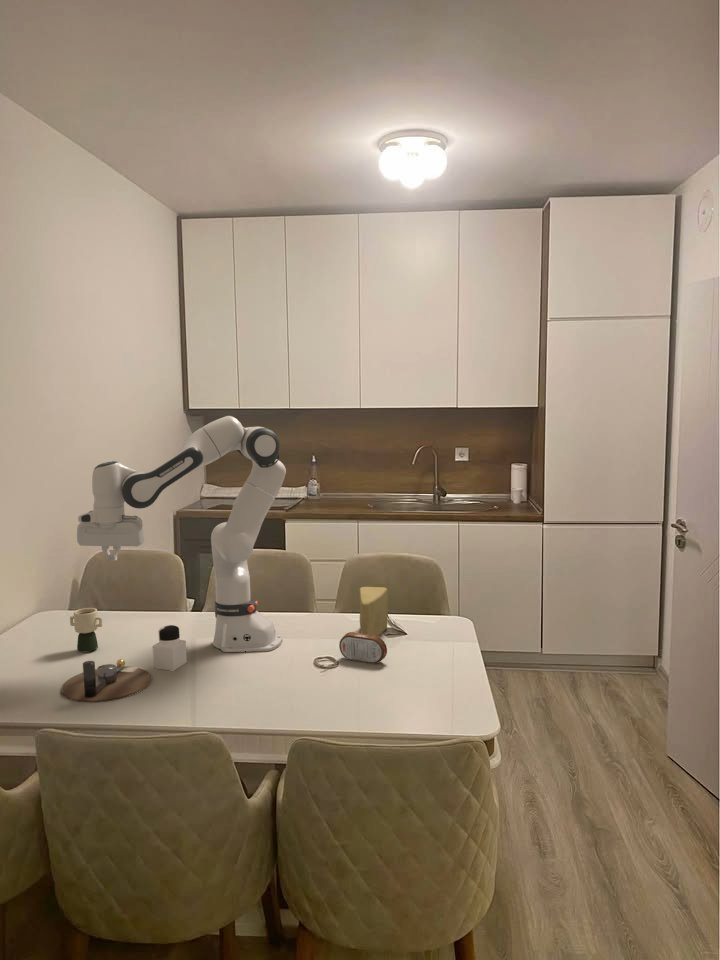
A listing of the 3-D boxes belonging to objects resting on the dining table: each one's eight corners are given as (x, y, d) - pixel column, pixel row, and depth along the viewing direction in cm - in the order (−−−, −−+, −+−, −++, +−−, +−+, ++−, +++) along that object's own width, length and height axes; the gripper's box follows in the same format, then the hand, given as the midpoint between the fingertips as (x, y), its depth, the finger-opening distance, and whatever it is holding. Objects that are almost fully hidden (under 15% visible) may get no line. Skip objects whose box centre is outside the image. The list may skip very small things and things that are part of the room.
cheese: (380, 650, 235) (380, 604, 234) (350, 649, 237) (349, 603, 235) (388, 628, 257) (387, 586, 255) (360, 627, 258) (359, 585, 257)
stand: (165, 670, 221) (164, 666, 221) (128, 704, 197) (128, 699, 197) (89, 667, 224) (88, 663, 224) (44, 699, 201) (43, 695, 201)
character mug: (109, 647, 242) (106, 608, 241) (98, 654, 235) (95, 614, 234) (77, 646, 244) (75, 607, 242) (66, 653, 237) (63, 613, 235)
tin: (387, 663, 224) (387, 635, 223) (383, 666, 222) (383, 639, 221) (342, 656, 231) (342, 629, 230) (338, 659, 228) (337, 632, 227)
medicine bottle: (187, 662, 227) (185, 624, 226) (174, 671, 220) (172, 631, 219) (167, 660, 229) (165, 622, 228) (153, 668, 223) (151, 629, 221)
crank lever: (127, 667, 221) (126, 637, 220) (101, 697, 199) (99, 664, 198) (111, 667, 221) (109, 638, 220) (82, 697, 199) (80, 664, 198)
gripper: (146, 513, 228) (148, 558, 229) (83, 513, 231) (86, 557, 232) (137, 517, 222) (139, 563, 223) (72, 516, 225) (75, 561, 226)
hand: (111, 560), depth 228 cm, fingers closed
